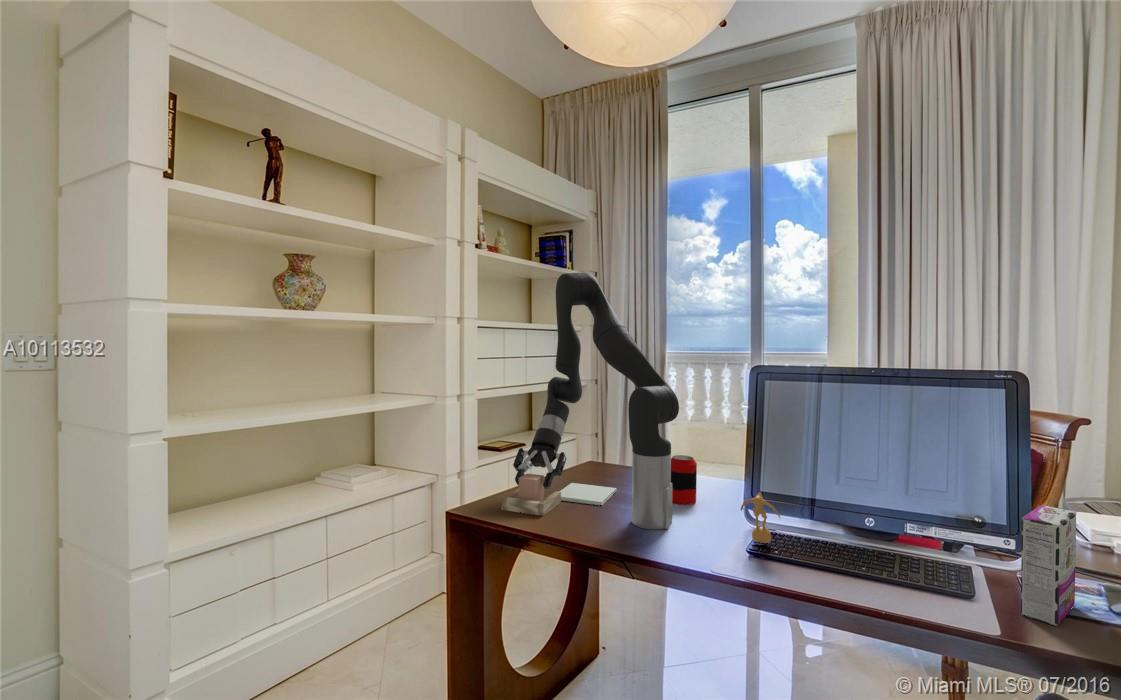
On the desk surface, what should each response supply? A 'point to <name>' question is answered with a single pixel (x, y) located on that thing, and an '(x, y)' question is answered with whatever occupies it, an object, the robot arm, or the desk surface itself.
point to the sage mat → (587, 493)
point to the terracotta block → (531, 487)
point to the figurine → (759, 532)
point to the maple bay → (530, 503)
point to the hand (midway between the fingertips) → (531, 485)
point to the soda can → (683, 479)
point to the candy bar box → (1048, 564)
